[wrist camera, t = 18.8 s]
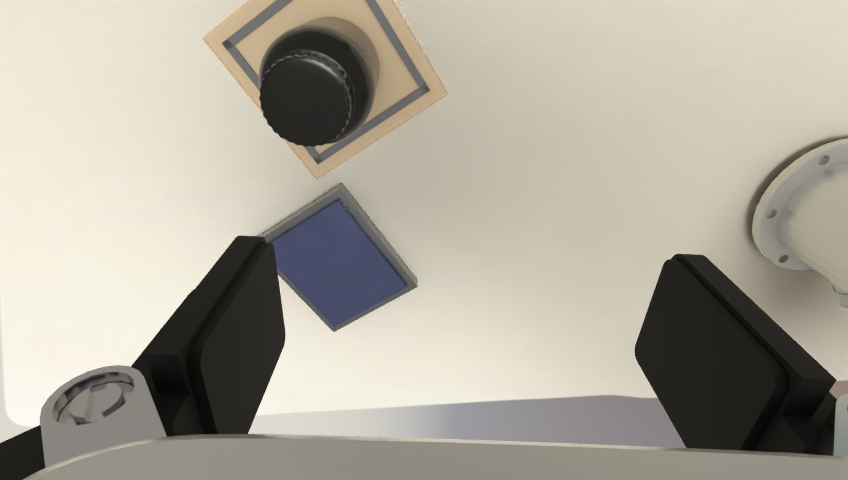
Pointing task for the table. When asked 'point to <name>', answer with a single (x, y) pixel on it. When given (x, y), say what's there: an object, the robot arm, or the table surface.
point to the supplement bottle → (319, 81)
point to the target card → (384, 25)
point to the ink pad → (338, 259)
